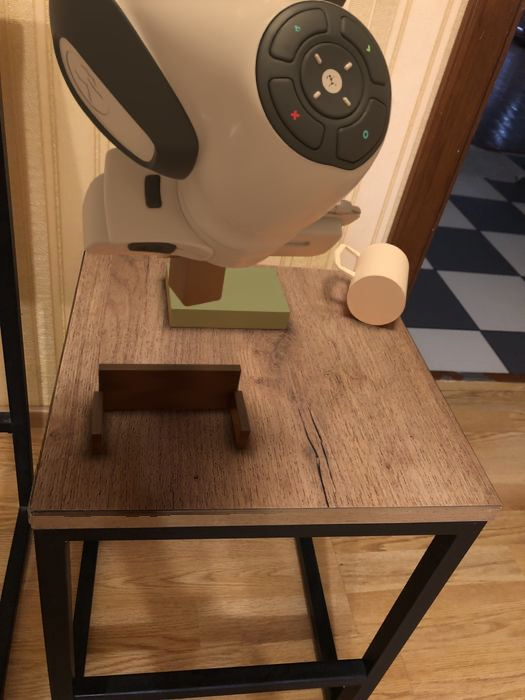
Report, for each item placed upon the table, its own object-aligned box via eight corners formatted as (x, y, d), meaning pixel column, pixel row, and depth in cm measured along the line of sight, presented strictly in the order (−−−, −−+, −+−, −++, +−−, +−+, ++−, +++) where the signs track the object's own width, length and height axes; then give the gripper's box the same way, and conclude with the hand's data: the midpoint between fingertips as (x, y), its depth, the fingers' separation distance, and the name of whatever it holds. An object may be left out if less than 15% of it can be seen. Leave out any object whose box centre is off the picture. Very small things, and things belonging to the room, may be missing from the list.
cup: (313, 293, 84) (324, 261, 92) (383, 334, 85) (389, 299, 93) (343, 250, 79) (352, 220, 86) (417, 294, 80) (420, 260, 88)
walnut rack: (91, 453, 59) (90, 412, 55) (94, 403, 64) (93, 363, 60) (246, 449, 62) (255, 410, 59) (237, 402, 68) (244, 364, 64)
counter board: (169, 326, 76) (171, 308, 74) (165, 280, 84) (166, 262, 83) (286, 329, 80) (290, 312, 78) (271, 284, 88) (274, 267, 86)
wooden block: (203, 278, 58) (212, 204, 53) (222, 301, 55) (234, 226, 50) (166, 285, 56) (172, 209, 51) (184, 309, 53) (192, 231, 48)
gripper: (368, 164, 43) (300, 219, 56) (81, 146, 37) (80, 212, 50) (374, 247, 43) (305, 283, 56) (85, 243, 37) (83, 284, 50)
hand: (197, 249), depth 53 cm, fingers closed on wooden block, 4 cm apart
